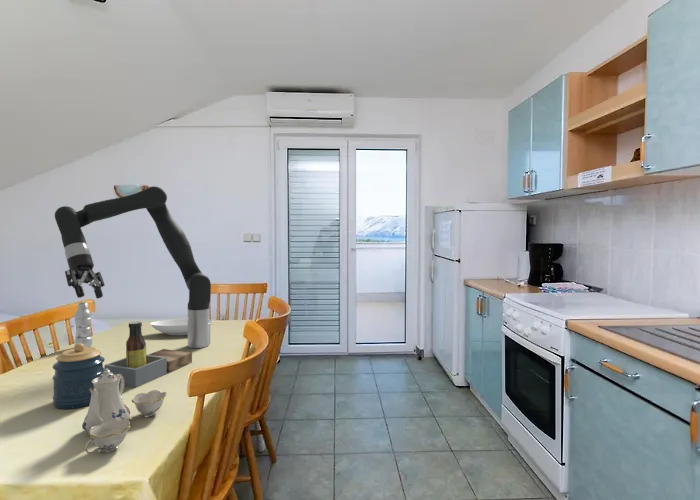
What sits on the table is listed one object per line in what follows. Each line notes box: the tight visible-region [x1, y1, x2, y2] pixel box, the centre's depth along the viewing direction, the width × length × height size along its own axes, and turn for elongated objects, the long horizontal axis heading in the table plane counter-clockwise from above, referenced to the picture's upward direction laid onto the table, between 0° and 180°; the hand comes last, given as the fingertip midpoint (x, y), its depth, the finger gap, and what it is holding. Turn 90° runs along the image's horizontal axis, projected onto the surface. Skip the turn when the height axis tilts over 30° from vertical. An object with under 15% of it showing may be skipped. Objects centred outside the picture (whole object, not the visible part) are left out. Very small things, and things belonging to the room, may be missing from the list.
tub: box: [103, 354, 168, 388], centre depth 135 cm, size 14×14×6 cm
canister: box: [52, 343, 105, 410], centre depth 116 cm, size 13×13×18 cm
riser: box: [147, 348, 193, 373], centre depth 149 cm, size 12×14×4 cm
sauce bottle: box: [125, 321, 147, 369], centre depth 135 cm, size 6×6×20 cm
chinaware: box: [81, 369, 167, 454], centre depth 100 cm, size 28×17×17 cm, turn 5°
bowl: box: [149, 318, 214, 336], centre depth 196 cm, size 30×15×6 cm, turn 105°
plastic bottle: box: [73, 301, 93, 347], centre depth 169 cm, size 6×7×20 cm
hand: (90, 297), depth 139 cm, fingers open, 8 cm apart
